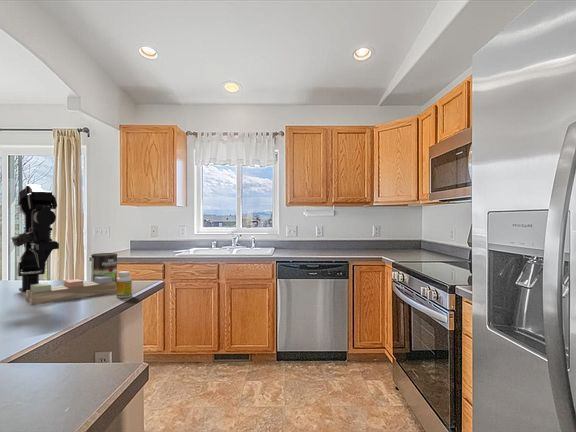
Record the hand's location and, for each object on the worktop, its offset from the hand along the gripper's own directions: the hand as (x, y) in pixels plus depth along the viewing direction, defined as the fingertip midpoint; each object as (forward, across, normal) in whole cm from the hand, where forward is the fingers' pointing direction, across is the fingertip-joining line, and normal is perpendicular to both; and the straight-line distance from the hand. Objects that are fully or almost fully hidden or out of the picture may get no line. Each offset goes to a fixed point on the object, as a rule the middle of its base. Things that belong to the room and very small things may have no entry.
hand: (40, 267), depth 132 cm
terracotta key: (+10, 0, +11) cm, 15 cm away
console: (+12, 0, +11) cm, 16 cm away
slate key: (+10, 0, +22) cm, 24 cm away
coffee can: (+12, -11, +27) cm, 32 cm away
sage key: (+10, 0, 0) cm, 10 cm away
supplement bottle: (+13, +14, +24) cm, 31 cm away
